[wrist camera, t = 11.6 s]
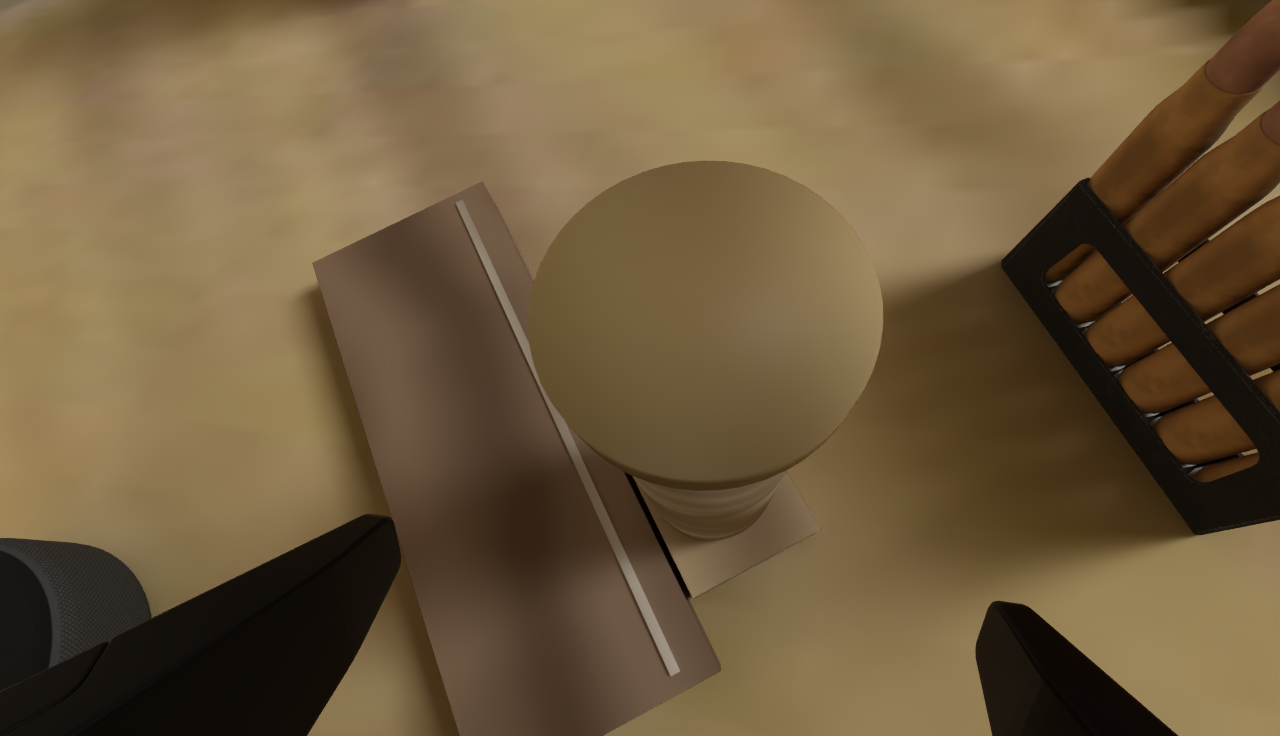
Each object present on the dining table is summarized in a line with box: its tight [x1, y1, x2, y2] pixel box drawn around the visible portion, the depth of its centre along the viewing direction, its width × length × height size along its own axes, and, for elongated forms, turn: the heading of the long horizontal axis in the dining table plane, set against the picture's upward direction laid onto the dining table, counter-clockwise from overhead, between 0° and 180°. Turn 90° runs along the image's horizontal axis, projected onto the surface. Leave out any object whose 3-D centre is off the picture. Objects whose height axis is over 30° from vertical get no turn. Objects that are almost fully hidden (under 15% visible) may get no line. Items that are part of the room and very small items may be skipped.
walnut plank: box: [312, 181, 721, 736], centre depth 21 cm, size 8×20×2 cm, turn 26°
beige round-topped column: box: [528, 161, 883, 598], centre depth 14 cm, size 5×6×14 cm
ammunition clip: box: [1002, 0, 1280, 535], centre depth 15 cm, size 11×2×12 cm, turn 21°
